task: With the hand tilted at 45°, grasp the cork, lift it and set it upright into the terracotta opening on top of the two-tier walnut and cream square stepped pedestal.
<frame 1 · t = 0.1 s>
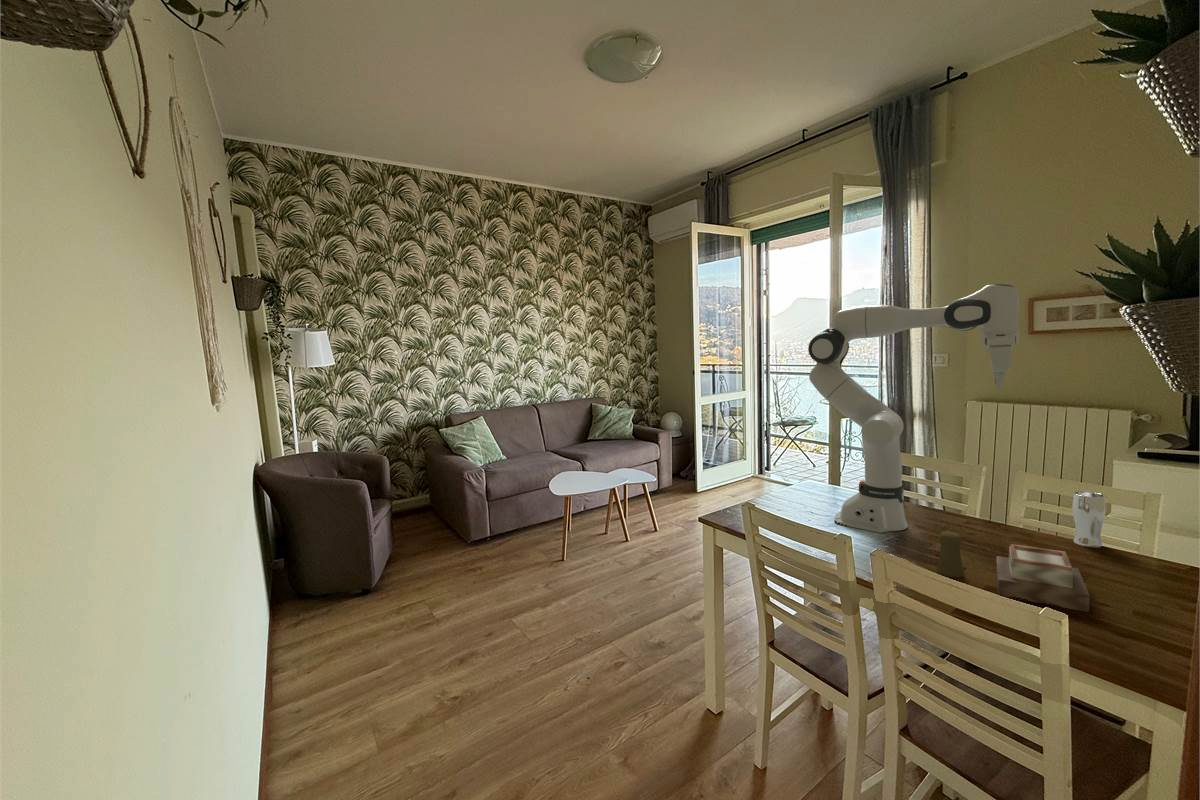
hand: (998, 385, 150), 48 cm above the table, tool pointing down, fingers open, 8 cm apart
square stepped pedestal: (1038, 589, 124), on the table
beer glass: (1087, 544, 148), on the table
cork: (950, 573, 136), on the table
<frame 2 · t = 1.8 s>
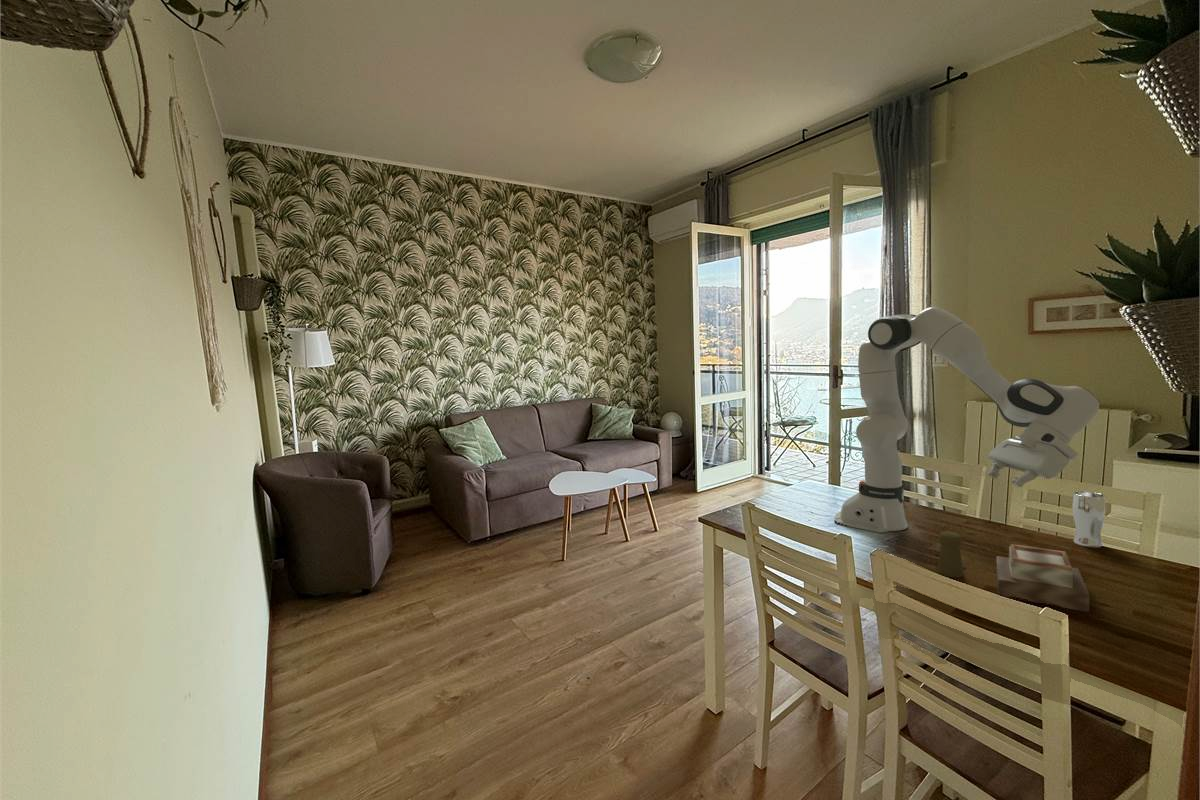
hand: (1002, 480, 133), 25 cm above the table, tool tilted 45°, fingers open, 8 cm apart
nothing on the table moved.
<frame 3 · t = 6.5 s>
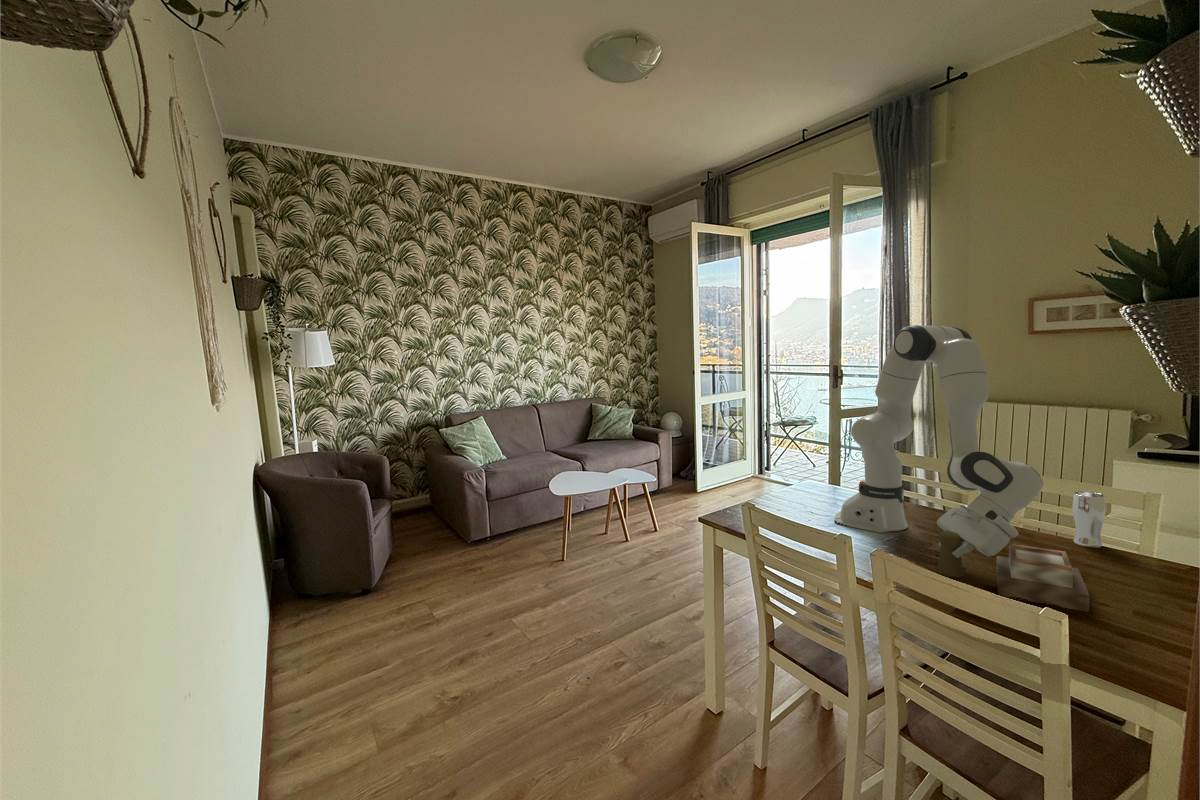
hand: (947, 551, 135), 6 cm above the table, tool tilted 45°, fingers closed on cork, 4 cm apart
cork: (950, 572, 136), on the table, touching gripper
everything else where it was.
when the fingers open (16 cm above the table, at t = 11.8 s): cork drops 1 cm, resting on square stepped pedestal.
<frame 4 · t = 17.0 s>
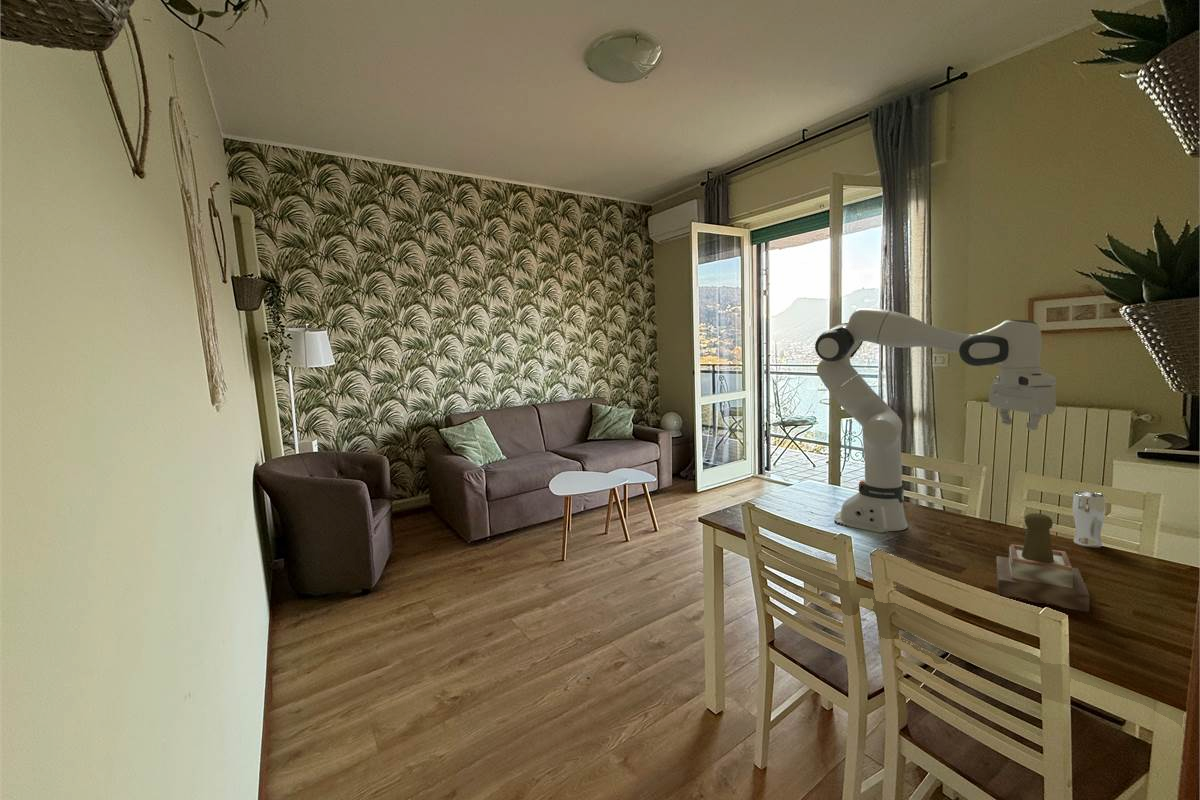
hand: (1019, 426, 141), 37 cm above the table, tool pointing down, fingers open, 8 cm apart
cork: (1037, 558, 123), point 8 cm above the table, touching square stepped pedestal
everything else where it was.
at the end: cork 0.3 cm off-centre on the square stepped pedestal, point 7.8 cm above the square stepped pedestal's base; cork tilted 0°; the gripper is holding nothing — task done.
